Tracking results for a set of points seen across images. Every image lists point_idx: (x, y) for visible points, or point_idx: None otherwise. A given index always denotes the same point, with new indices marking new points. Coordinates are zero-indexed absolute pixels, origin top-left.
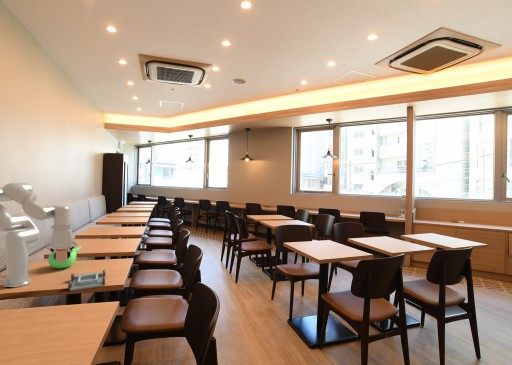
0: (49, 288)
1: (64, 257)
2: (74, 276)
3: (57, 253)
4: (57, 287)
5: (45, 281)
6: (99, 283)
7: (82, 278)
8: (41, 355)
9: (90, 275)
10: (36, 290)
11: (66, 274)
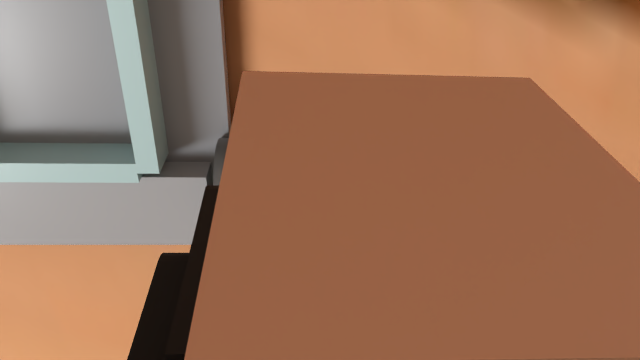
0: (457, 11)
1: (302, 124)
2: None
3: (627, 246)
4: (376, 6)
5: None
6: None
7: (129, 146)
8: None
9: (29, 156)
10: (585, 5)
11: None
